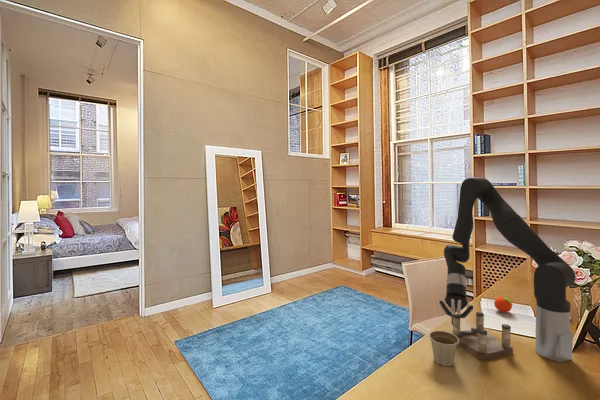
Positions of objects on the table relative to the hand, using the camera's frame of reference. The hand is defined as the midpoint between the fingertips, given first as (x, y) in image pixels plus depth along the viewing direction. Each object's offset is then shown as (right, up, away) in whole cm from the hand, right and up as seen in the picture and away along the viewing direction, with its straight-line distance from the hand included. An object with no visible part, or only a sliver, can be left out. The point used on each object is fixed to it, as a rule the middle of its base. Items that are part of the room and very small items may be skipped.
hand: (455, 326), depth 119 cm
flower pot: (-12, -6, -14) cm, 20 cm away
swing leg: (+3, -2, -1) cm, 4 cm away
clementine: (+35, -3, +22) cm, 41 cm away
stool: (+6, -5, -6) cm, 10 cm away
